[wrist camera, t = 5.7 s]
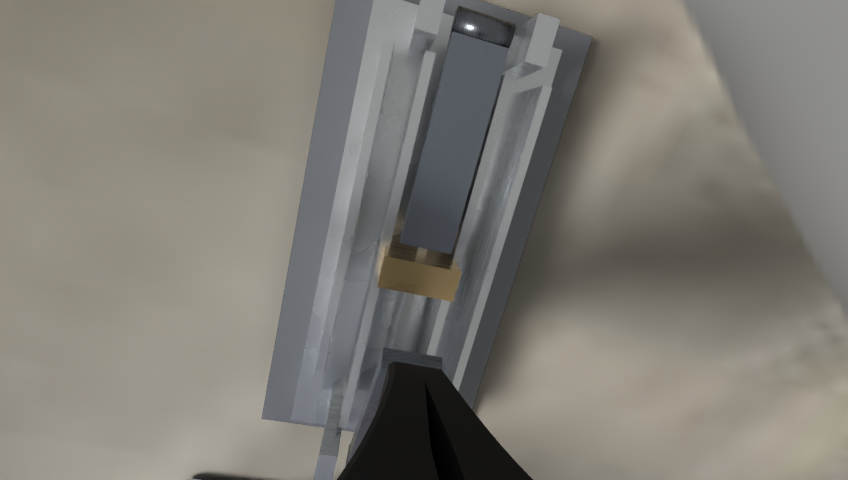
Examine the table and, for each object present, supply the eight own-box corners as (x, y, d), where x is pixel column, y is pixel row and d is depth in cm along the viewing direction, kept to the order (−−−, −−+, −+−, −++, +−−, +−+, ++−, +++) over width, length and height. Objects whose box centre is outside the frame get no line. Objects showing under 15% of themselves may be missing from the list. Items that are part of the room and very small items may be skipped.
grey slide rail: (438, 424, 18) (452, 504, 14) (296, 403, 17) (269, 483, 13) (550, 55, 14) (611, 27, 10) (376, 1, 13) (372, -52, 9)
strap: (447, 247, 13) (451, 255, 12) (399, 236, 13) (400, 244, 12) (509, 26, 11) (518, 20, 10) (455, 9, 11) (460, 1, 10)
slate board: (457, 437, 19) (459, 446, 18) (265, 409, 18) (261, 418, 17) (584, 40, 15) (592, 36, 14) (345, -37, 13) (343, -44, 13)
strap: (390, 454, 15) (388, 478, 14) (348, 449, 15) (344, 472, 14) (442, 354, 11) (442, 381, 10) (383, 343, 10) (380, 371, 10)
